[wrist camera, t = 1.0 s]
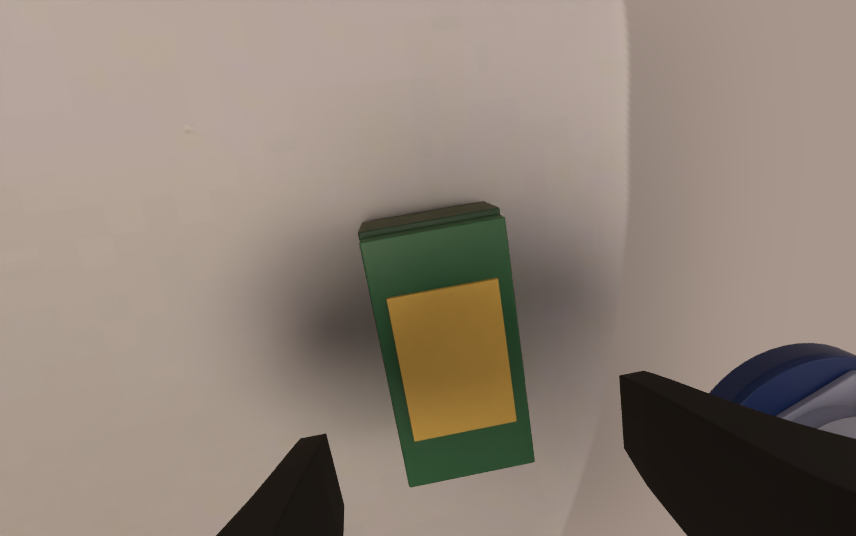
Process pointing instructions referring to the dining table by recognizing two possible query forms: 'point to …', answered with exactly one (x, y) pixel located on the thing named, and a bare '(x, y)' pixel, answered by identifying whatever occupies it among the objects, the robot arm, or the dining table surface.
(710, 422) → the robot arm
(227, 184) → the dining table surface
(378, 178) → the dining table surface
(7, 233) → the dining table surface
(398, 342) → the green box
